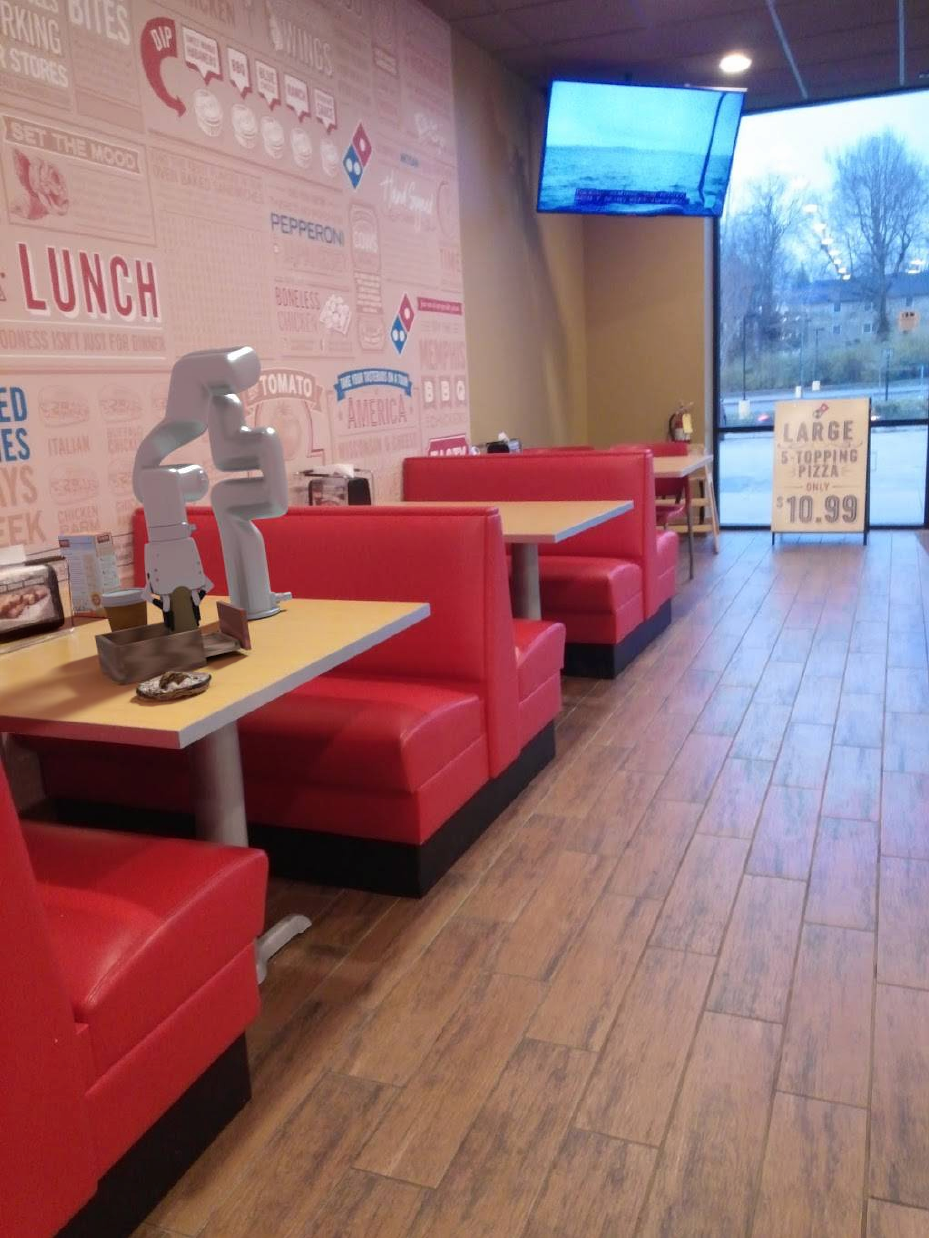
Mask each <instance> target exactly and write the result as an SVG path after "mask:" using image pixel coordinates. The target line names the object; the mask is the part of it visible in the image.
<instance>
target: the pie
mask: <svg viewBox="0 0 929 1238" xmlns="http://www.w3.org/2000/svg"><path fill="white" fill-rule="evenodd" d="M211 681H212V675H211V673H207V672H204V671H203V672H199V671H181V672H173V671H169V672H166V673H165V674H164V675H162V676H159V677H155V678H151V679H148V681H147V680H146V681H144V682H141V683H139V685H137V686H136V688H135V694H136V696H137V697H138V700H140V701H143V702H145V703H148V702H149V703H150V702H151V703H156V702H157V703H159V702H161V703H163V702H173V701H180V700H185V699H187V698H192V697H197V696H199V695H202V694H204V693H207V690H208V689H209V688H211V685H210V684H211Z"/></svg>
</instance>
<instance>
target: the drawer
mask: <svg viewBox="0 0 929 1238" xmlns="http://www.w3.org/2000/svg"><path fill="white" fill-rule="evenodd" d="M215 604H216V610H217V616H218V617H217V619H218V622H219V624H218V625H219V629H220V630H217V631H214V632H210V633H204V634H203V633H202V638H203V644H204V651H205V657H206V658H208V657H211V656H216V655H220V654H224V653H231V652H234V651H238V650H241V649H242V650H245V651H251V650H252V645H251V643H252V642H251V637H250V631H249V624H248V623H249V622H248V620H247V615H246V609H243V608H240V607H237V606H234V605H232V604H231V603H230V602H229V603H228V602H226V601H223V600H218V601H215Z"/></svg>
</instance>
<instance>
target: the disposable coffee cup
mask: <svg viewBox="0 0 929 1238" xmlns="http://www.w3.org/2000/svg"><path fill="white" fill-rule="evenodd" d="M144 588H145V587H130V588H121V590H115V591H111V592H107V593H104V594H103V595H102V600H101V601H100V602H101V603H102V605H103V606H104V609H105V612H106V615H107V618H106V619H107V621H108V625H109V627H110V630H111V631H110V632H115V631H120V630H125V629H130V628H135V627H140V626H144V625H149V624H148V623H149V622H148V602H147V601H145V600H142V599H141V595H142V592H143V590H144Z"/></svg>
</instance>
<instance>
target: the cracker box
mask: <svg viewBox="0 0 929 1238" xmlns="http://www.w3.org/2000/svg"><path fill="white" fill-rule="evenodd" d="M57 539H58V545H59V549H60V551H59V552H60V554H61V558H62V557H63V556H64V557H66V558H67V561H68V565H69V573H70V582H71V591H72V604H73V611H74V615H75V616H74V617H91V618H103V617H104V618H105V619H108V618H107V615H106V612H105V609H104V606H103V605H102V603H101V602H100V601H101V600H102V595H103V594H104V593H107V592H111V591H115V590H121V589H122V586H121V581H120V575H119V569H118V564H117V557H116V552H115V551H116V550H115V545H114V540H113V534H112V531H80V532H70V533H65V534H61V535H58V536H57ZM62 567H63V570H64V571H63V572H64V577H65V579H66V568H65V565H64V563H63V562H62Z"/></svg>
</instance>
